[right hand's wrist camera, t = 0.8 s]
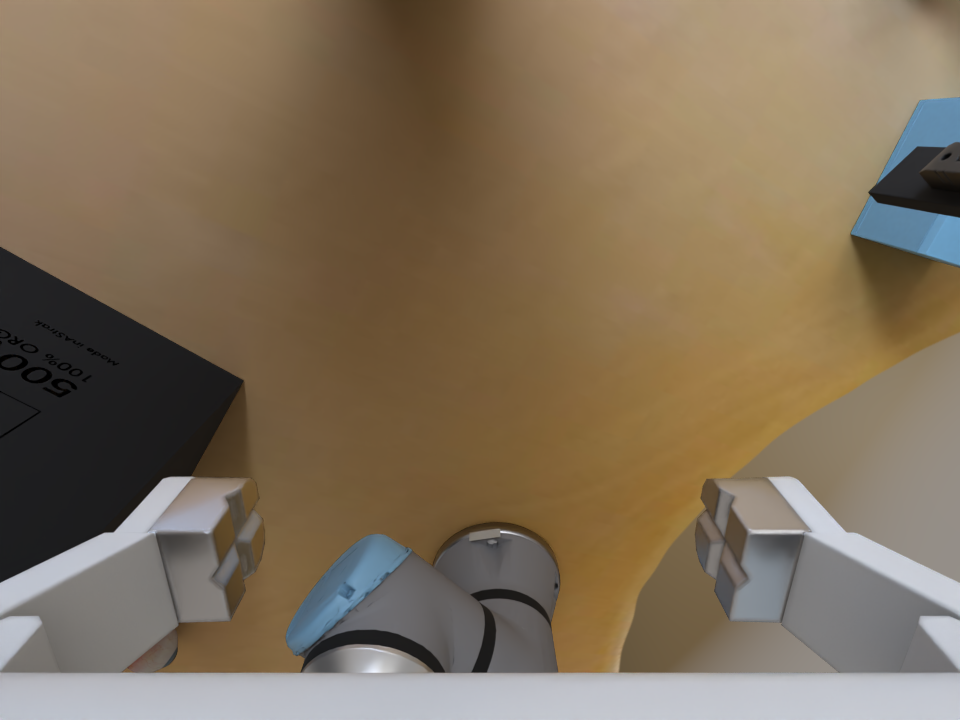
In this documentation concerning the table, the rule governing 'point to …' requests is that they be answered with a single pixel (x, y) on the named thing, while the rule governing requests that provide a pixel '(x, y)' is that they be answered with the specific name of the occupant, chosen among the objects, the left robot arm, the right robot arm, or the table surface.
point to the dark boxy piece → (89, 415)
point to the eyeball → (157, 655)
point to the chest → (926, 128)
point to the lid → (943, 240)
